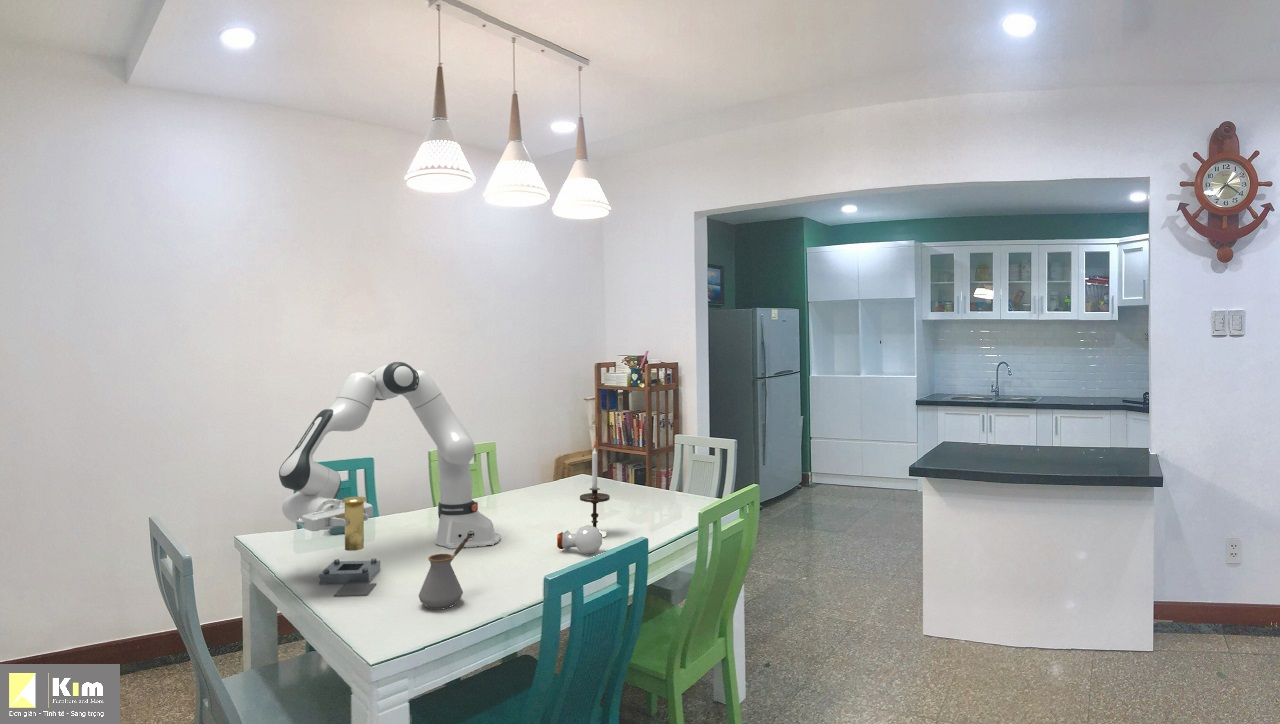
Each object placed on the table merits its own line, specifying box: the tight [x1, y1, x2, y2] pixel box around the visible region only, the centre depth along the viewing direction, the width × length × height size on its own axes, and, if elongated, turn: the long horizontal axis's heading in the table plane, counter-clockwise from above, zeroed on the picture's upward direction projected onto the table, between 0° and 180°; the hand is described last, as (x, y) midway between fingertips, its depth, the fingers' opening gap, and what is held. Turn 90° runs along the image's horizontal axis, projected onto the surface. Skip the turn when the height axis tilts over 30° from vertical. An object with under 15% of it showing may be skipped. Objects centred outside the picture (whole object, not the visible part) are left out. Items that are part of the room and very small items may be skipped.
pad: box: [333, 582, 377, 598], centre depth 202 cm, size 9×9×1 cm
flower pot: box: [328, 526, 345, 535], centre depth 262 cm, size 9×9×9 cm
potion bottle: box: [556, 524, 603, 556], centre depth 238 cm, size 9×10×15 cm
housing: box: [318, 558, 381, 585], centre depth 213 cm, size 14×12×4 cm
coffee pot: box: [418, 535, 474, 610], centre depth 196 cm, size 21×12×15 cm, turn 163°
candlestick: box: [579, 439, 611, 529], centre depth 259 cm, size 11×11×35 cm
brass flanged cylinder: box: [341, 496, 367, 552], centre depth 201 cm, size 6×6×14 cm
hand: (356, 520), depth 201 cm, fingers closed on brass flanged cylinder, 5 cm apart
